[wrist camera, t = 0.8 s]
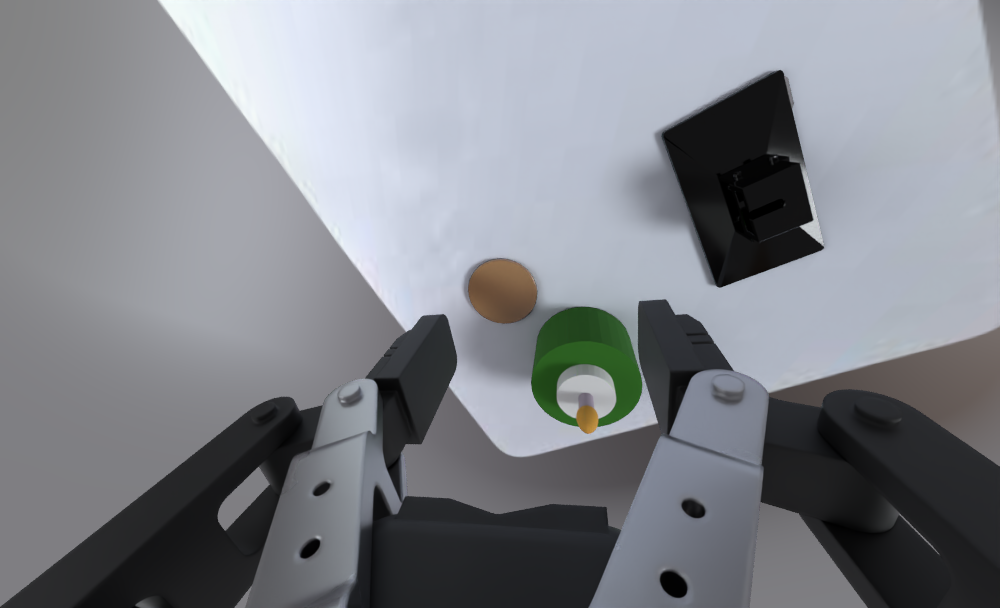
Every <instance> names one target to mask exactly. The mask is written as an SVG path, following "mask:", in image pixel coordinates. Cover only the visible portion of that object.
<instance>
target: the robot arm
mask: <svg viewBox="0 0 1000 608" xmlns="http://www.w3.org/2000/svg"><path fill="white" fill-rule="evenodd" d="M638 352H639V360H640V365H641V369H642V372H643V375H644V378H645V381H646V385H647V388H648V391H649V394H650V398H651V401H652V404H653V407H654V411H655V414H656V417H657V420H658V424H659V427H660V430H661V433H662V435H661V437H660V438H659V440H658V442H657V445H656V447H655V450H654V452H653V455H652V457H651V460H650V462H649V464H648V467H647V469H646V472H645V474H644V477H643V479H642V481H641V484H640V486H639V489H638V491H637V493H636V496H635V498H634V501H633V503H632V506H631V508H630V511H629V513H628V515H627V518H626V520H625V523H624V525H623V528H622V530H619V529H617V528H614V527H611V526H608V518H607V508H606V507H595V506H577V505H558V504H550V505H545V506H540V507H535V508H530V509H525V510H519V511H514V512H509V513H504V514H494V513H490V512H487V511H484V510H482V509H479V508H476V507H473V506H470V505H467V504H464V503H461V502H459V501H456V500H453V499H449V498H430V497H412V496H408V493H407V478H406V465H405V457H404V455H403V452H402V450H403V448H404V446H405V444H422V442H423V440H424V437H425V435H426V433H427V431H428V429H429V427H430V425H431V422H432V420H433V418H434V416H435V414H436V411H437V409H438V407H439V405H440V403H441V401H442V398H443V396H444V394H445V392H446V390H447V388H448V386H449V384H450V381H451V379H452V377H453V375H454V373H455V370H456V366H457V355H456V350H455V346H454V342H453V338H452V334H451V330H450V326H449V322H448V319H447V317H446V316H445V315H444V314H441V315H427V316H422V317H421V318H420V319H419V321H418V322H417V323H416V325H415V326H414V327H413V328H412V330H409V331H407V332H406V333H405V334H403V335H402V336H400V337H399V338H397V339H396V341H395V342H394V343H393V345H392V346H391V347H390V349H388V351H387V352H386V353H385V354H384V357H382V358H381V359H380V360H379V362H378V363H377V364H376V365H375V367H374V368H373V369H372V370H371V371H370V373H369V374H368V375H367V376H366V378H365V379H358V380H354V381H351V382H348V383H345V384H343V385H341V386H339V387H338V388H336V389H335V390H334V391H332V392H331V393H330V394H329V395H328V396H327V397H326V399H325V400H324V403H323V405H322V406H318V407H314V408H310V409H306V410H301V411H299V409H298V407H297V405H296V403H295V401H294V400H293V399H292V398H290V397H279V398H274V399H271V400H268V401H266V402H263V403H261V404H259V405H257V406H256V407H254V408H252V409H251V410H250V411H248V412H247V413H245V414H244V415H243V416H242V417H240V418H239V419H238V420H237V421H235V422H234V423H233V424H231V425H230V426H229V427H228V428H226V429H225V430H224V431H223V432H221V433H220V434H219V435H217V436H216V437H215V438H214V439H212V440H211V441H210V442H209V443H207V444H206V445H205V446H204V447H203V448H201V449H200V450H198V451H197V452H196V453H195V454H194V455H192V456H191V457H190V458H188V459H187V460H186V461H185V462H183V463H182V464H181V465H179V466H178V467H177V468H176V469H175V470H173V471H172V472H171V473H170V474H168V475H167V476H166V477H165V478H163V479H162V480H160V481H159V482H158V483H157V484H156V485H154V486H153V487H152V488H150V489H149V490H148V491H147V492H145V493H144V494H143V495H142V496H140V497H139V498H138V499H137V500H135V501H134V502H133V503H131V504H130V505H129V506H128V507H126V508H125V509H124V510H122V511H121V512H120V513H119V514H117V515H116V516H115V517H114V518H112V519H111V520H110V521H109V522H107V523H106V524H105V525H103V526H102V527H101V528H100V529H99V530H97V531H96V532H95V533H93V534H92V535H91V536H90V537H88V538H87V539H86V540H84V541H83V542H82V543H81V544H79V545H78V546H77V547H76V548H74V549H73V550H72V551H70V552H69V553H68V554H67V555H65V556H64V557H63V558H62V559H61V560H59V561H58V562H57V563H55V564H54V565H53V566H52V567H50V568H49V569H48V570H46V571H45V572H44V573H43V574H41V575H40V576H39V577H38V578H36V579H35V580H34V581H33V582H31V583H30V584H29V585H27V586H26V587H25V588H24V589H22V590H21V591H20V592H19V593H17V594H16V595H15V596H14V597H12V598H11V599H10V600H8V601H7V602H6V603H5V604H3V605H2V606H1V607H0V608H234V607H235V606H236V605H237V603H238V602H239V601H240V600H241V598H242V597H243V596H244V594H245V593H246V592H247V591H248V589H249V588H250V587H251V586H252V588H251V591H250V594H249V597H248V601H247V604H246V607H245V608H749V606H750V596H751V587H752V577H753V568H754V558H755V548H756V539H757V530H758V520H759V511H760V502H762V503H766V504H769V505H772V506H776V507H779V508H783V509H786V510H789V511H792V512H796V513H799V514H800V516H801V517H802V519H803V520H804V522H805V523H806V525H807V526H808V527H809V529H810V530H811V531H812V533H813V534H814V535H815V537H816V538H817V539H818V541H819V542H820V543H821V545H822V546H823V548H824V549H825V550H826V552H827V553H828V554H829V555H830V557H831V558H832V560H833V561H834V562H835V564H836V565H837V567H838V568H839V569H840V571H841V572H842V573H843V575H844V576H845V577H846V579H847V580H848V581H849V583H850V584H851V585H852V587H853V588H854V590H855V591H856V592H857V594H858V595H859V596H860V598H861V599H862V600H863V602H864V603H865V604H866V606H867V607H868V608H1000V466H998V465H996V464H995V463H994V462H992V461H991V460H989V459H988V458H986V457H985V456H984V455H982V454H981V453H979V452H978V451H976V450H975V449H973V448H972V447H970V446H969V445H968V444H966V443H965V442H963V441H962V440H960V439H959V438H957V437H956V436H954V435H953V434H951V433H950V432H949V431H947V430H946V429H944V428H943V427H941V426H940V425H938V424H937V423H935V422H934V421H933V420H931V419H930V418H928V417H927V416H925V415H924V414H922V413H921V412H920V411H918V410H916V409H915V408H913V407H911V406H909V405H907V404H905V403H903V402H901V401H899V400H896V399H894V398H891V397H888V396H885V395H882V394H878V393H873V392H868V391H863V390H850V389H849V390H838V391H834V392H831V393H829V394H827V396H825V398H824V400H823V403H822V406H821V408H820V407H814V406H809V405H803V404H797V403H792V402H787V401H782V400H778V399H774V398H771V397H769V395H768V392H767V390H766V389H765V388H764V387H763V386H762V385H761V384H760V383H759V382H758V381H756V380H755V379H753V378H751V377H749V376H747V375H744V374H741V373H739V372H735V371H734V370H733V369H732V367H731V366H730V364H729V363H728V361H727V360H726V359H725V357H724V356H723V354H722V353H721V351H720V350H719V348H718V347H717V345H716V344H714V341H713V340H712V338H711V337H710V335H708V332H707V331H706V329H705V328H704V327H703V325H702V324H701V322H699V321H697V320H696V319H694V318H692V317H691V316H689V315H687V314H683V315H675V314H674V312H673V310H672V309H671V307H670V305H669V303H668V302H667V300H666V299H664V300H650V301H639V305H638ZM257 467H259V468H260V469H261V471H262V472H263V474H264V475H265V477H266V479H267V480H268V482H269V484H270V485H269V486H268V487H267V488H266V489H265V490H264V491H263V492H262V493H261V494H260V495H259V496H258V497H257V498H256V500H255V501H254V502H253V503H252V504H251V505H250V506H249V507H248V508H247V509H246V510H245V511H244V512H243V513H242V514H241V515H240V516H239V517H238V518H237V519H236V521H235V522H234V523H233V524H232V525H231V526H230V527H229V528H228V529H227V530H226V531H225V530H224V529H223V528H222V527H221V525H220V524H219V522H218V517H217V515H218V511H219V508H220V506H221V504H222V502H223V501H224V500H225V498H227V496H228V495H230V493H232V492H233V491H234V489H236V488H237V487H238V486H239V485H240V484H241V483H242V482H243V481H244V480H245V479H246V478H247V477H248V476H249V475H250V474H251V473H252V472H253V471H254V470H255V469H256V468H257ZM899 513H900V514H901V515H902V516H903V517H904V518H905V519H906V520H907V521H908V522H909V523H910V524H911V525H912V526H913V527H914V528H915V529H916V530H917V531H918V532H919V533H920V534H921V535H922V536H923V537H924V538H925V539H926V540H927V541H928V542H929V543H930V544H931V545H932V546H933V547H934V548H935V549H936V551H937V552H938V553H939V554H940V555H939V554H937V552H936V551H935V550H934V549H933V548H932V547H931V546H930V545H929V544H928V543H927V542H926V541H924V539H923V538H922V537H921V536H920V535H918V533H917V532H915V530H914V529H913V528H911V527H910V525H909V524H908V523H907V522H906V521H905V520H904V519H903V518H902V517H901V516H900V515H899ZM252 584H253V585H252Z"/></svg>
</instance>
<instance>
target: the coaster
mask: <svg viewBox="0 0 1000 608" xmlns="http://www.w3.org/2000/svg"><path fill="white" fill-rule="evenodd" d="M468 292H469V297H470V300H471V303H472V305H473V306H474V308H475V309H476V310H477V311H478V312H479V314H481V315H482V316H483V317H485V318H486V319H488V320H491V321H493V322H497V323H513V322H516V321H519V320H521V319H523V318H524V317H526V316H527V315H528V314H529V313H530V312H531V311H532V309H533V307H534V305H535V303H536V299H537V287H536V283H535V280H534V278H533V276H532V275H531V274H530V272H529V271H528V270H527V269H526V268H525V267H524V266H522V265H521V264H519V263H517V262H515V261H512V260H508V259H494V260H490V261H487V262H485V263H483V264H482V265H480V266H479V267H478V268H477V269H476V270H475V271H474V273H473V275H472V276H471V278H470V281H469V286H468Z"/></svg>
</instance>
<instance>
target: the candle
mask: <svg viewBox="0 0 1000 608" xmlns="http://www.w3.org/2000/svg"><path fill="white" fill-rule="evenodd" d="M531 385H532V392H533V395H534V398H535V399H536V401H537V403H538V404H539V406H540V407H541V408H542V409H543V410H544V411H545V412H546V413H547V414H549V415H550V416H551V417H553V418H555V419H556V420H558V421H560V422H563V423H566V424H568V425H572V426H578V427H580V429H581V430H582V431H583V432H585V433H587V434H590V433H592V432H594V431H595V429H596V428H597V427H600V426H604V425H608V424H611V423H614V422H616V421H619V420H620V419H622V418H623V417H625V416H626V415H628V414H629V413H630V412H631V411H632V410H633V409H634V407H635V406H636V404H637V403H638V401H639V399H640V396H641V393H642V380H641V375H640V371H639V368H638V364H637V361H636V358H635V354H634V351H633V348H632V344H631V341H630V337H629V335H628V333H627V330H626V328H625V327H624V326H623V324H622V323H621V322H620V321H619V320H618V319H617V318H615V317H614V316H613V315H611V314H609V313H607V312H605V311H603V310H600V309H597V308H590V307H576V308H570V309H567V310H564V311H561V312H559V313H557V314H556V315H554V316H552V317H551V318H550V319H549V320H548V321H547V322H546V323H545V324H544V325H543V327H542V328H541V330H540V332H539V335H538V338H537V345H536V352H535V359H534V366H533V373H532V380H531Z"/></svg>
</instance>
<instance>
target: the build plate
mask: <svg viewBox="0 0 1000 608" xmlns="http://www.w3.org/2000/svg"><path fill="white" fill-rule="evenodd" d="M793 104H794V102H793V98H792V94H791V89H790V85H789V81H788V78H787V77H785V76H784V73H783V71H781V70H778V71H775V72H773V73H771V74H769V75H768V76H766V77H764V78H762V79H760V80H758V81H756V82H755V83H753V84H751V85H749V86H747V87H745V88H744V89H742V90H740V91H738V92H736V93H734V94H733V95H731V96H729V97H727V98H725V99H723V100H721V101H720V102H718V103H716V104H714V105H712V106H710V107H709V108H707V109H705V110H703V111H701V112H699V113H697V114H696V115H694V116H692V117H690V118H688V119H686V120H685V121H683V122H681V123H679V124H677V125H675V126H674V127H672V128H670V129H668V130H666V131H664V132H663V134H662V138H663V141H664V144H665V147H666V149H667V152H668V155H669V158H670V161H671V163H672V166H673V169H674V172H675V174H676V177H677V180H678V183H679V185H680V188H681V191H682V194H683V197H684V199H685V202H686V205H687V208H688V210H689V213H690V216H691V219H692V221H693V224H694V227H695V230H696V233H697V235H698V238H699V241H700V244H701V246H702V249H703V252H704V255H705V257H706V260H707V263H708V266H709V269H710V271H711V274H712V277H713V280H714V282H715V285H716V286H717V287H723V286H726V285H729V284H731V283H734V282H737V281H739V280H742V279H745V278H748V277H750V276H753V275H756V274H758V273H761V272H764V271H767V270H769V269H772V268H775V267H777V266H780V265H783V264H786V263H788V262H791V261H794V260H796V259H799V258H802V257H805V256H807V255H810V254H813V253H815V252H818V251H821V250H822V249H823V248H824V243H823V239H822V235H821V230H820V226H819V222H818V218H817V213H816V209H815V205H814V201H813V196H812V192H811V188H810V184H809V179H808V175H807V171H806V167H805V163H804V158H803V154H802V150H801V146H800V141H799V137H798V133H797V129H796V124H795V120H794V116H793V112H792V107H793Z"/></svg>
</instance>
